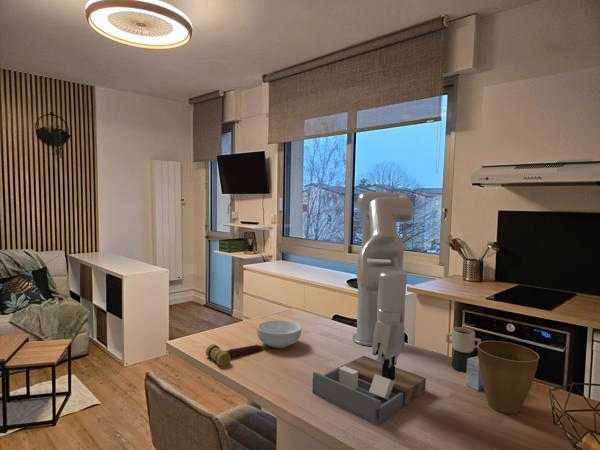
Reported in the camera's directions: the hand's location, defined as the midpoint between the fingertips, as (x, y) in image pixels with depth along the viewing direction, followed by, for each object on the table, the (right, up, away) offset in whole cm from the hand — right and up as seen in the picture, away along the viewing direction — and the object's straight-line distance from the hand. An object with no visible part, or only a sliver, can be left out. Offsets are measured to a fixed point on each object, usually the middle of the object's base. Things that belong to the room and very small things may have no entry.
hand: (388, 378), depth 110 cm
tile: (-2, -2, -2) cm, 3 cm away
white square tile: (-10, -1, +5) cm, 11 cm away
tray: (-9, -5, -2) cm, 11 cm away
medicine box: (+30, -6, +9) cm, 32 cm away
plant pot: (+31, -7, -3) cm, 32 cm away
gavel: (-46, -3, +27) cm, 54 cm away
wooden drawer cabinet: (0, -5, +7) cm, 9 cm away
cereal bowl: (-33, -2, +38) cm, 51 cm away
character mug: (+29, -5, +21) cm, 36 cm away
